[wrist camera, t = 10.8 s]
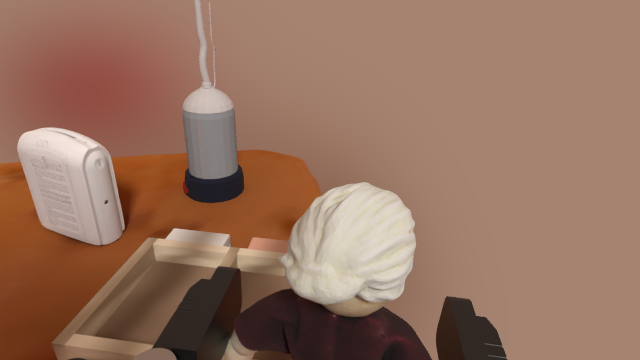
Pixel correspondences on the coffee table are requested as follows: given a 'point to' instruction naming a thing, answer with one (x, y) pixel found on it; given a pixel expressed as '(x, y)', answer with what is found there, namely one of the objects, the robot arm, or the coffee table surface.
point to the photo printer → (72, 185)
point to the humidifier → (210, 136)
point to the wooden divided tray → (167, 293)
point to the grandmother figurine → (338, 284)
